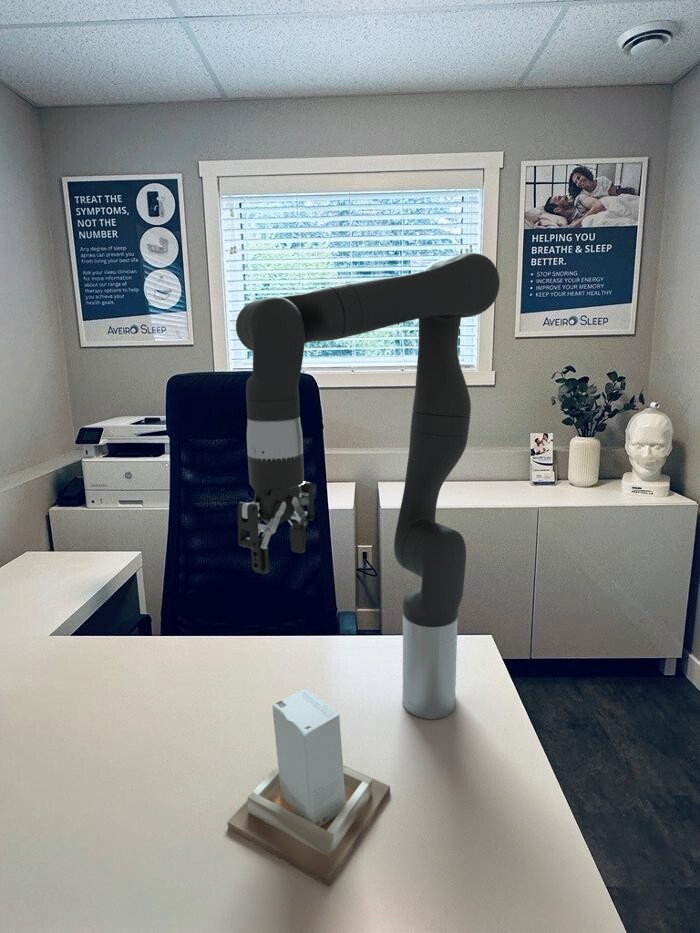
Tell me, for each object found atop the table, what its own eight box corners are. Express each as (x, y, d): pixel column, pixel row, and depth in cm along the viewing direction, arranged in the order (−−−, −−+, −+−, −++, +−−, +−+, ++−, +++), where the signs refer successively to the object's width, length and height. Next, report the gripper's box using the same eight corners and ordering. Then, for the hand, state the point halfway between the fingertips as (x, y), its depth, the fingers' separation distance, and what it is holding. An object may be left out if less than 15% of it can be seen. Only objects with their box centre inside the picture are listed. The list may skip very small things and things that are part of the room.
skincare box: (347, 811, 74) (345, 715, 70) (309, 836, 70) (305, 736, 67) (311, 774, 80) (308, 684, 77) (276, 795, 77) (270, 702, 73)
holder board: (299, 751, 86) (298, 731, 86) (390, 792, 78) (390, 771, 77) (227, 827, 73) (226, 805, 72) (328, 886, 65) (328, 862, 64)
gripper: (263, 464, 67) (269, 586, 71) (327, 444, 79) (329, 550, 83) (217, 458, 71) (226, 574, 75) (285, 440, 83) (289, 541, 86)
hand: (280, 561), depth 79 cm, fingers open, 8 cm apart
